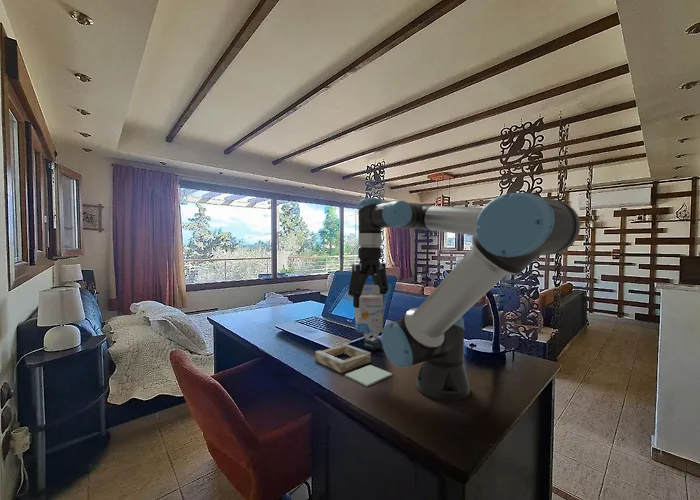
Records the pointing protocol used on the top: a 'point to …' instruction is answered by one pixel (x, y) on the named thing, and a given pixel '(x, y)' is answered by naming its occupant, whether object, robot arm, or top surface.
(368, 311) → the ink box
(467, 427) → the top surface
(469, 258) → the robot arm
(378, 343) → the watch
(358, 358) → the dispenser collar
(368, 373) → the mat
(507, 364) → the top surface
